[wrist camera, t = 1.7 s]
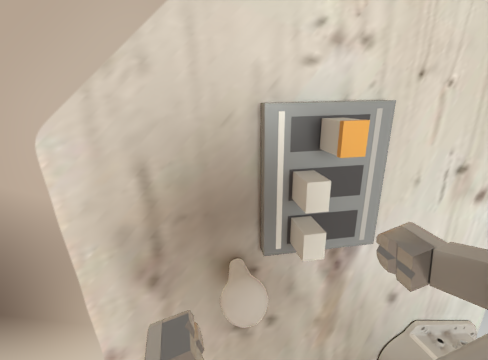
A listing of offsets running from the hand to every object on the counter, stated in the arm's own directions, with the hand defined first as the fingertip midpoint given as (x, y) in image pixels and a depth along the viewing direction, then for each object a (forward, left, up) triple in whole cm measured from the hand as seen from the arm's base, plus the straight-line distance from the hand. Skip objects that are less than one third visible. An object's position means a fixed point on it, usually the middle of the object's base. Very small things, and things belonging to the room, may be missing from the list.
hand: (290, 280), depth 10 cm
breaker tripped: (-14, -3, -23) cm, 27 cm away
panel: (-14, +4, -25) cm, 29 cm away
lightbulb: (-1, +17, -26) cm, 31 cm away
